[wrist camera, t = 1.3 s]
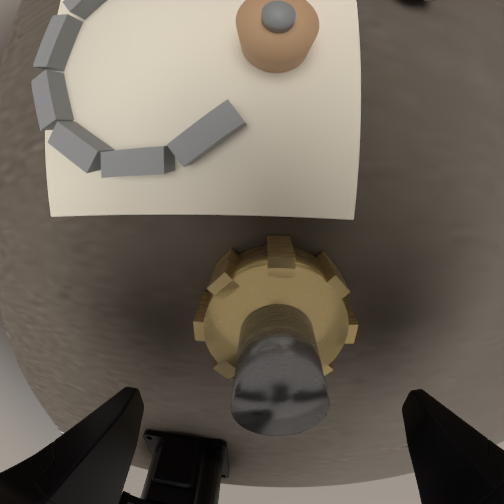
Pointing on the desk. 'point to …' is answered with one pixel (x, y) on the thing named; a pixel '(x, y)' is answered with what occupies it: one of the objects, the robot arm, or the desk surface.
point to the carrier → (201, 107)
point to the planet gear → (276, 333)
